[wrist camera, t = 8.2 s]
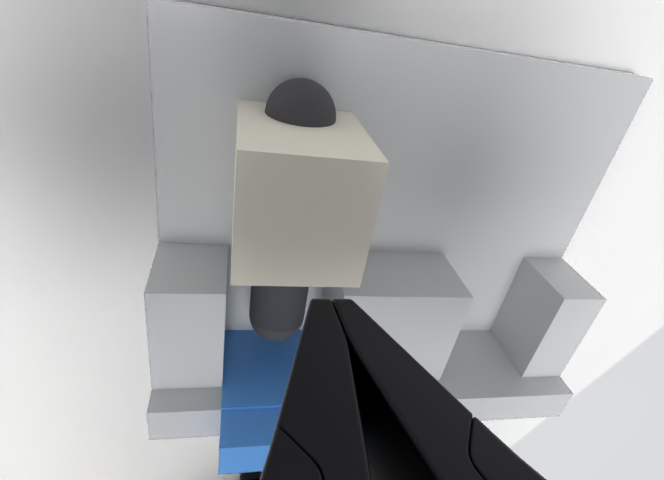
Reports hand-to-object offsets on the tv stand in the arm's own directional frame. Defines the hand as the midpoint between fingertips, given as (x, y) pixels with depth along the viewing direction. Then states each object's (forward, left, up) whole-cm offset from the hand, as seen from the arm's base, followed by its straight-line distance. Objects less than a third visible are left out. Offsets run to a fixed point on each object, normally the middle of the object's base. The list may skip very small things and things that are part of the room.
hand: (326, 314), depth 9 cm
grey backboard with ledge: (-3, -4, -9) cm, 10 cm away
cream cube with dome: (-2, 0, -8) cm, 8 cm away
